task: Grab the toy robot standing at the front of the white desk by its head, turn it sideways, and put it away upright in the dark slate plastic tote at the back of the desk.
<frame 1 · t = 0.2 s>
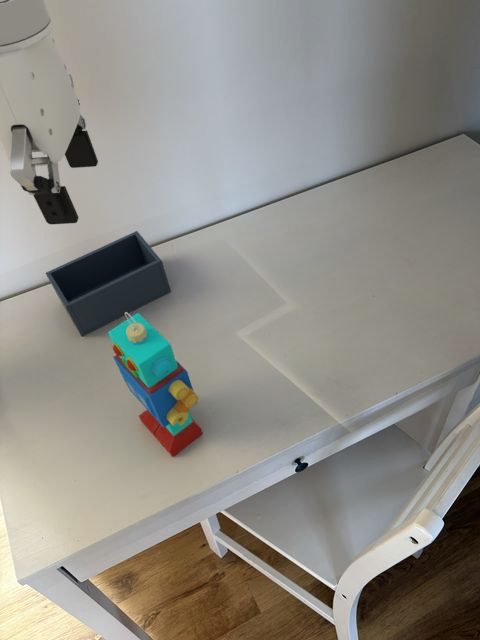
hand: (74, 192, 57), 35 cm above the table, tool pointing down, fingers open, 9 cm apart
toy robot: (173, 427, 80), on the table
tote: (116, 297, 97), on the table
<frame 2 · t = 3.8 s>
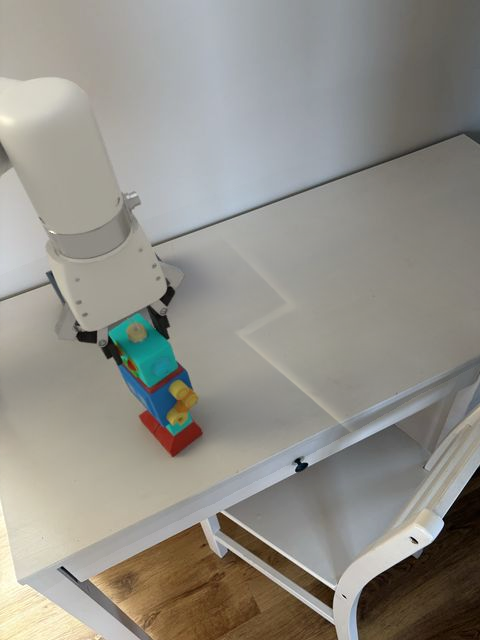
hand: (138, 343, 64), 20 cm above the table, tool pointing down, fingers closed on toy robot, 5 cm apart
toy robot: (173, 427, 80), on the table, touching gripper
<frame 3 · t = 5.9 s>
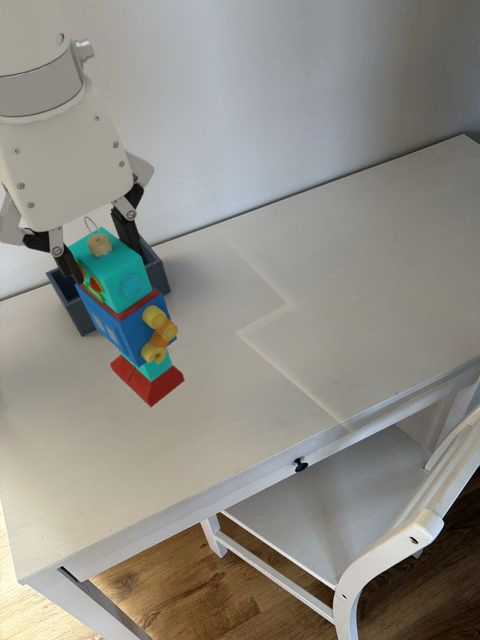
hand: (103, 260, 53), 33 cm above the table, tool pointing down, fingers closed on toy robot, 5 cm apart
toy robot: (151, 375, 69), point 13 cm above the table, touching gripper
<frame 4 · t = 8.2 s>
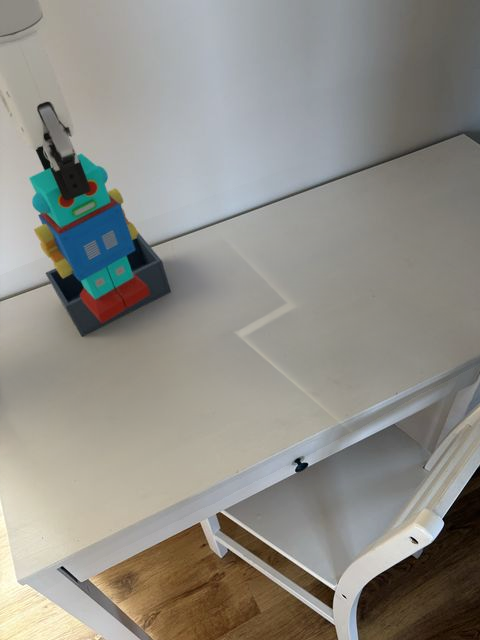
hand: (67, 180, 62), 33 cm above the table, tool pointing down, fingers closed on toy robot, 5 cm apart
toy robot: (116, 298, 78), point 13 cm above the table, touching gripper
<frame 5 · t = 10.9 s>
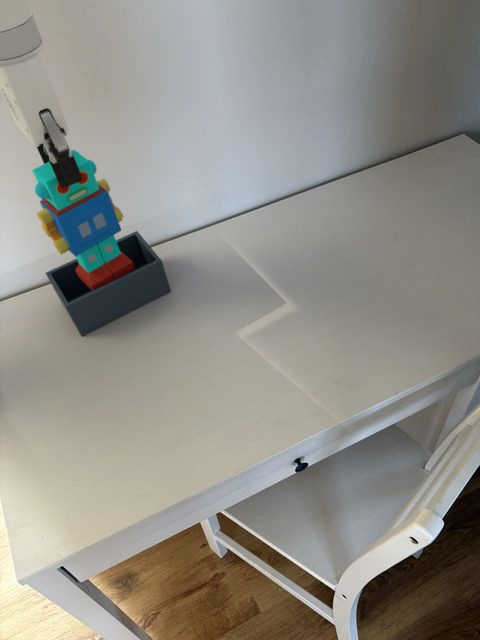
hand: (63, 172, 76), 26 cm above the table, tool pointing down, fingers closed on toy robot, 5 cm apart
toy robot: (106, 273, 92), point 6 cm above the table, touching gripper
when the fingers open (21 cm above the table, at t = 12.6 s): toy robot stays where it is, resting on tote.
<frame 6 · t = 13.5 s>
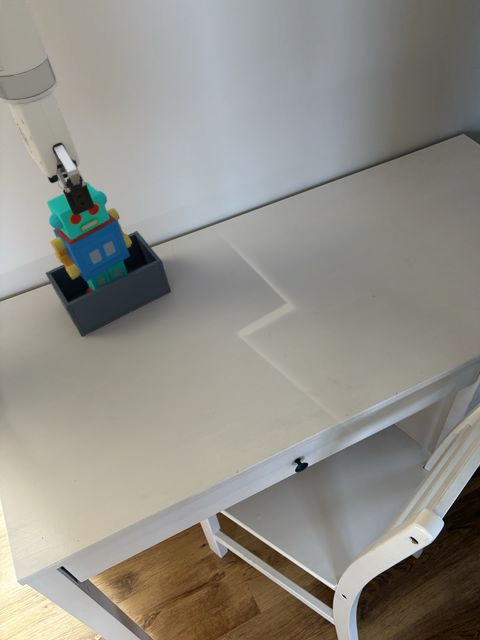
hand: (71, 194, 79), 22 cm above the table, tool pointing down, fingers open, 9 cm apart
toy robot: (115, 295, 97), resting on tote
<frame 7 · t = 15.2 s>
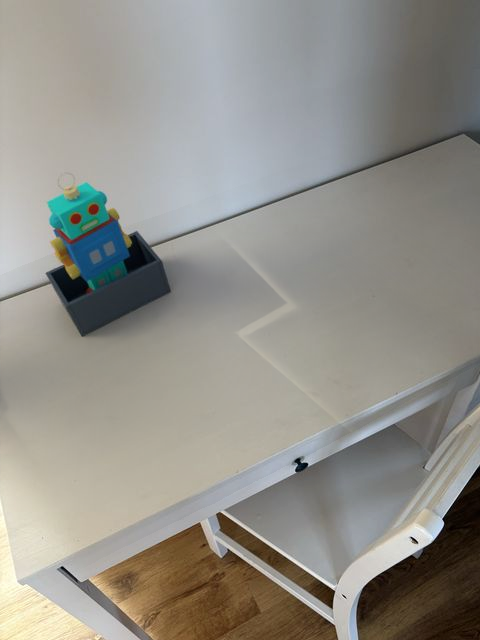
nothing on the table moved.
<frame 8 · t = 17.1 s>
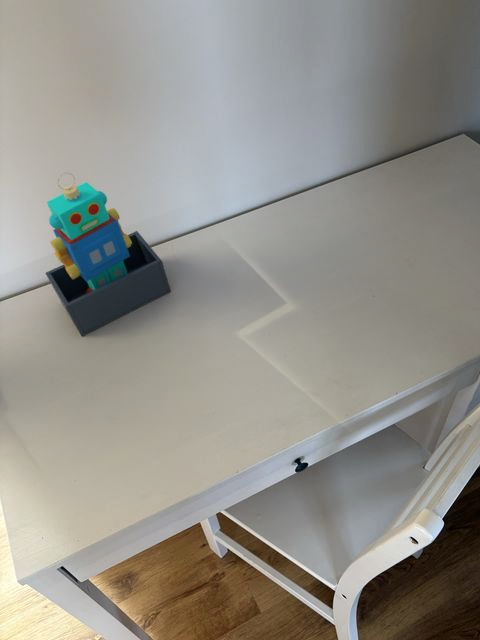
nothing on the table moved.
at the end: toy robot inside the target area in the tote (0.1 cm from its centre), point 0.4 cm above the tote's base; toy robot tilted 0°; the gripper is holding nothing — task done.
